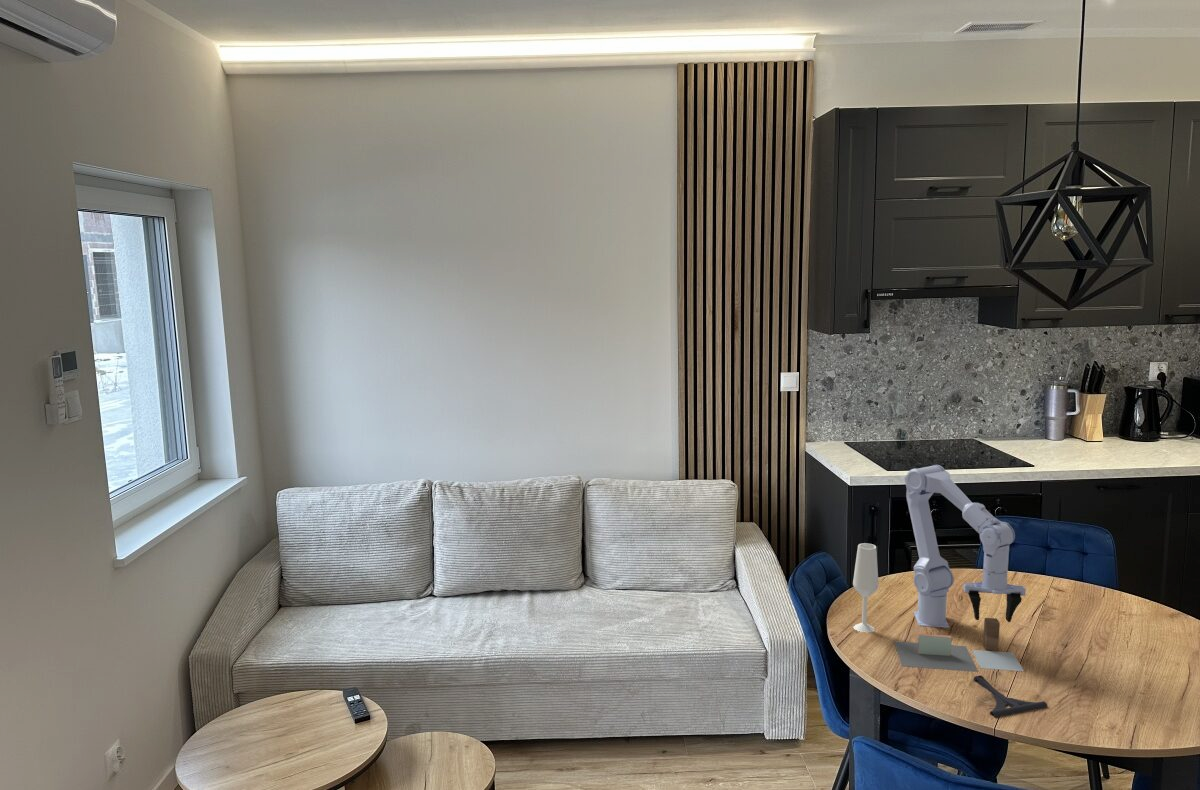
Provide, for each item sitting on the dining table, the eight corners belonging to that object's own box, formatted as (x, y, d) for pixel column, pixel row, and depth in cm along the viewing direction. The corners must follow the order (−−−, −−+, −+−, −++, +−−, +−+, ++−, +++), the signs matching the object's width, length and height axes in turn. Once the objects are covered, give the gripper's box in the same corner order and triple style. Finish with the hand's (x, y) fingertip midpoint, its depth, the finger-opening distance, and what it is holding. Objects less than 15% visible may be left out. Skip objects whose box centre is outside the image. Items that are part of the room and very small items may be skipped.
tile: (917, 651, 223) (918, 633, 222) (949, 654, 221) (950, 635, 220) (917, 653, 221) (918, 635, 221) (950, 656, 220) (951, 637, 219)
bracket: (1000, 679, 210) (1000, 668, 210) (1047, 709, 196) (1048, 698, 195) (950, 689, 206) (950, 678, 206) (994, 720, 192) (995, 709, 191)
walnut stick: (982, 646, 226) (984, 617, 225) (994, 647, 225) (996, 618, 224) (985, 651, 223) (987, 622, 222) (997, 652, 222) (999, 623, 221)
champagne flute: (872, 624, 240) (876, 542, 236) (879, 634, 234) (883, 550, 230) (848, 624, 240) (851, 542, 236) (854, 634, 234) (857, 550, 230)
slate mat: (894, 642, 229) (894, 641, 229) (965, 647, 225) (965, 646, 225) (901, 667, 215) (901, 665, 215) (978, 673, 212) (978, 671, 212)
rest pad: (971, 651, 223) (971, 649, 223) (1012, 654, 221) (1013, 652, 221) (980, 669, 214) (980, 668, 214) (1023, 672, 212) (1024, 671, 212)
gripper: (968, 573, 218) (965, 624, 220) (1030, 576, 215) (1026, 627, 218) (962, 563, 225) (960, 612, 227) (1022, 566, 222) (1019, 616, 224)
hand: (992, 619), depth 223 cm, fingers open, 7 cm apart
